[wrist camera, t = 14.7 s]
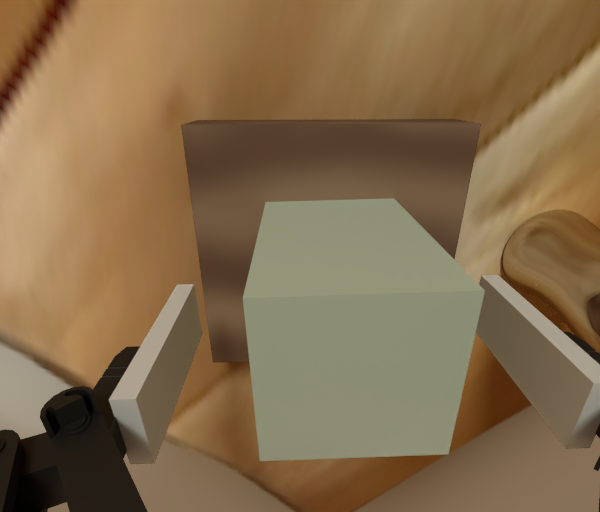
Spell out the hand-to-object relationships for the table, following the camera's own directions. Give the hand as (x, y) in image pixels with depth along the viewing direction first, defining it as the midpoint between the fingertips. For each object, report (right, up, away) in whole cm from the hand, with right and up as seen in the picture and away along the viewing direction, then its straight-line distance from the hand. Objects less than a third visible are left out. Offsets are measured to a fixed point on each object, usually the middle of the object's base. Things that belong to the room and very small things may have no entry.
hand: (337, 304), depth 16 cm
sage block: (0, +2, +4) cm, 5 cm away
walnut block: (0, +4, +8) cm, 9 cm away
